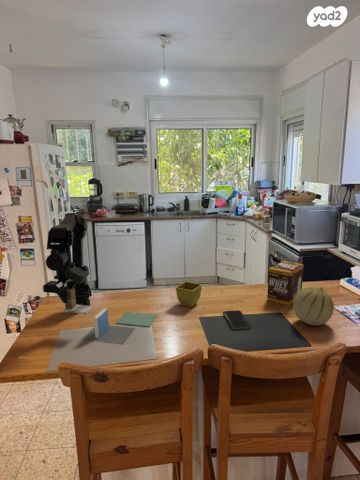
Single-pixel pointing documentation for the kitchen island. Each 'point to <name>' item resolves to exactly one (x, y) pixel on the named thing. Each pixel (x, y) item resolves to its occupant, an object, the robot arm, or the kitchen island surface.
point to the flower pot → (188, 293)
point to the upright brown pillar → (72, 305)
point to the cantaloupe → (313, 305)
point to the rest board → (137, 319)
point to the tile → (101, 323)
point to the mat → (111, 335)
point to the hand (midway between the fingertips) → (67, 301)
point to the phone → (236, 320)
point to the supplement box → (284, 282)
